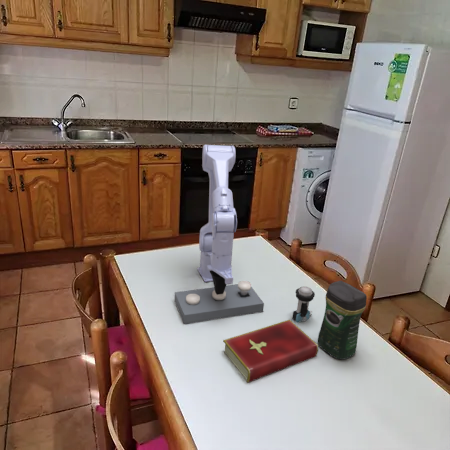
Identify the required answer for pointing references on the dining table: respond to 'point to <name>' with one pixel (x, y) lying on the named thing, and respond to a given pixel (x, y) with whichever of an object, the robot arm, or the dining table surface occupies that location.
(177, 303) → the knob panel
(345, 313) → the coffee jar
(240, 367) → the hardcover book
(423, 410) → the dining table surface
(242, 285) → the knob
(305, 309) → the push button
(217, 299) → the knob middle
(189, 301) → the knob
